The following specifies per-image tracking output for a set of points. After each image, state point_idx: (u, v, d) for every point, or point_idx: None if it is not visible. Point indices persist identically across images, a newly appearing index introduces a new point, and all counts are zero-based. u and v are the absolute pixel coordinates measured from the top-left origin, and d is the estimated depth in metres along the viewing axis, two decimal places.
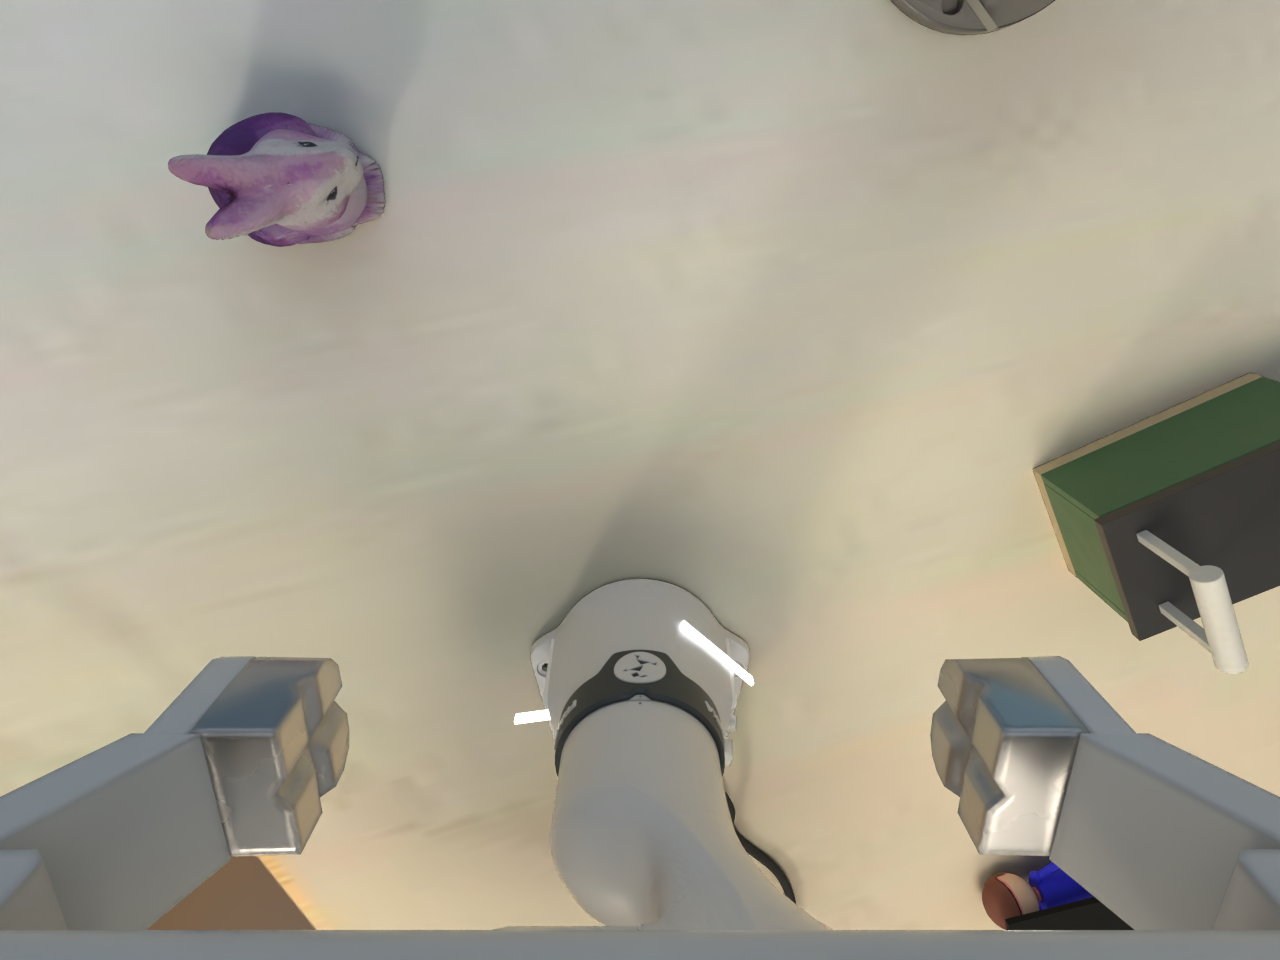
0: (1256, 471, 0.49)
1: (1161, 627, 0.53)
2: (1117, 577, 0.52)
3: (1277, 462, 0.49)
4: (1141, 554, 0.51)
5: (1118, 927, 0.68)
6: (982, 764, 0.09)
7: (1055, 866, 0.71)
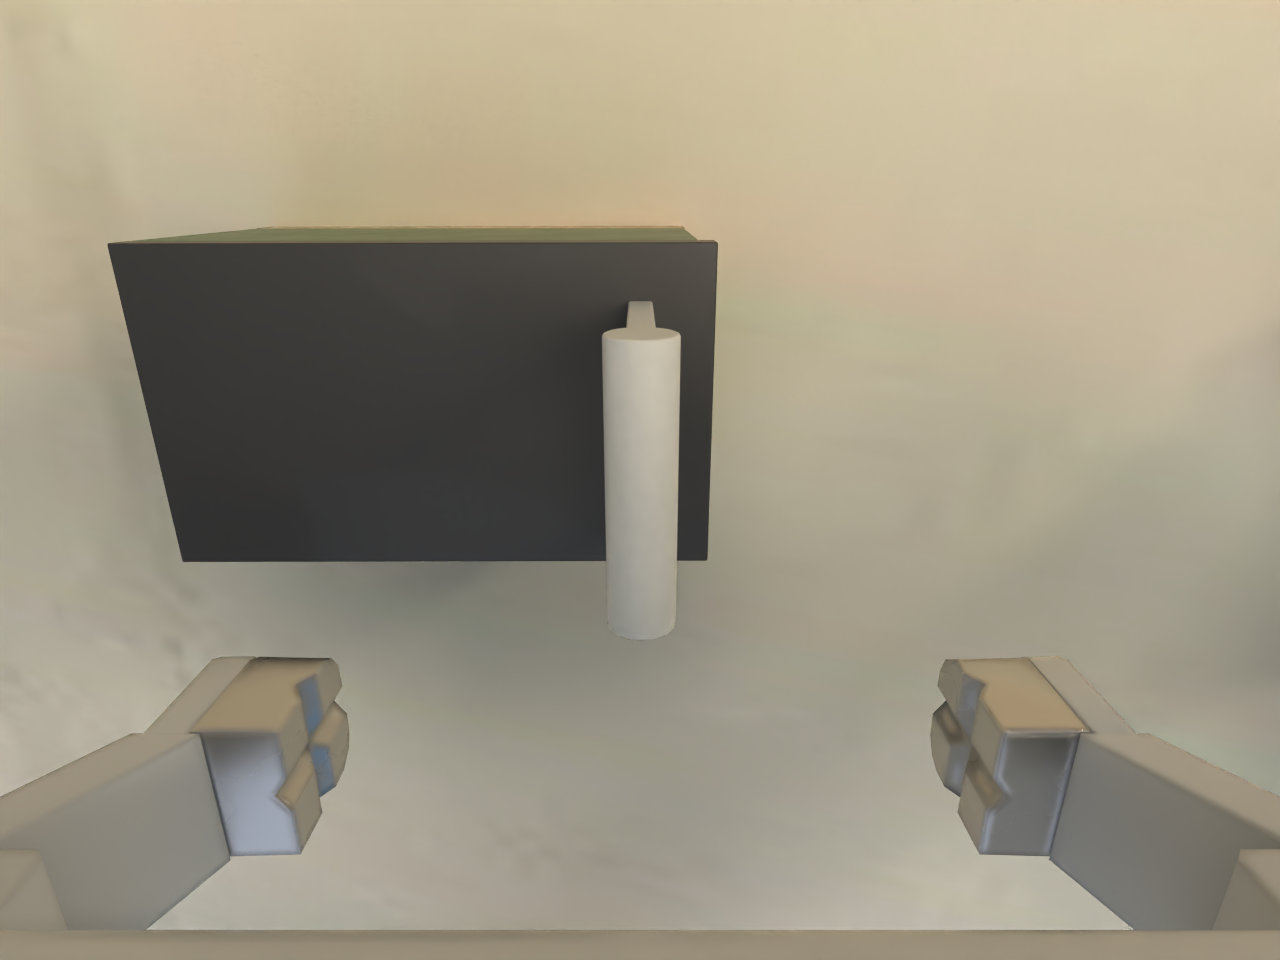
0: (404, 538, 0.25)
1: (659, 258, 0.22)
2: (711, 428, 0.24)
3: (362, 539, 0.25)
4: None
5: None
6: (982, 764, 0.09)
7: None
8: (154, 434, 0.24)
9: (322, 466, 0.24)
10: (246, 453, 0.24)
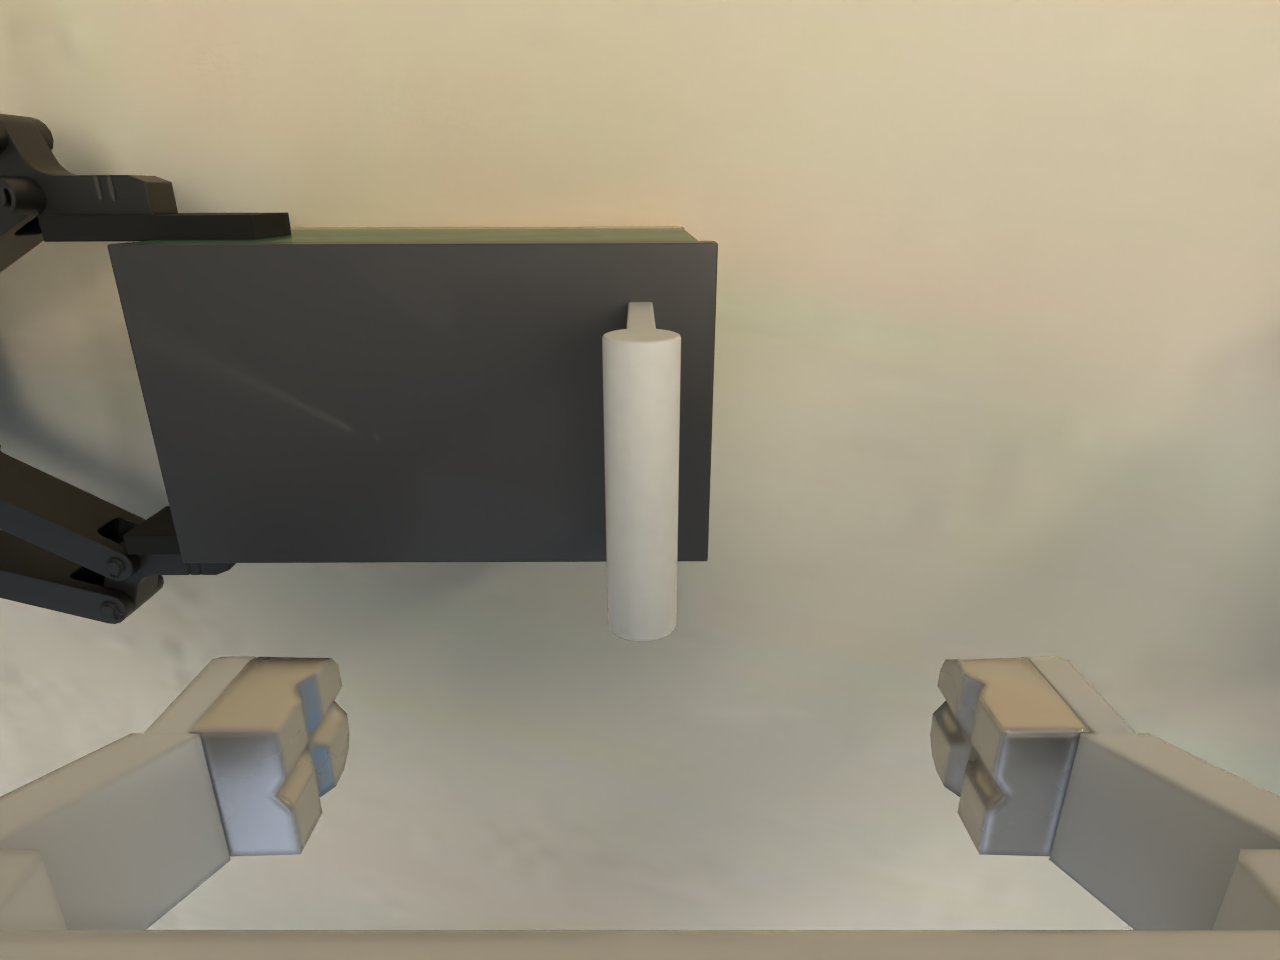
0: (404, 539, 0.25)
1: (659, 259, 0.22)
2: (711, 429, 0.24)
3: (363, 540, 0.25)
4: None
5: None
6: (982, 764, 0.09)
7: None
8: (155, 435, 0.24)
9: (322, 467, 0.24)
10: (246, 454, 0.24)
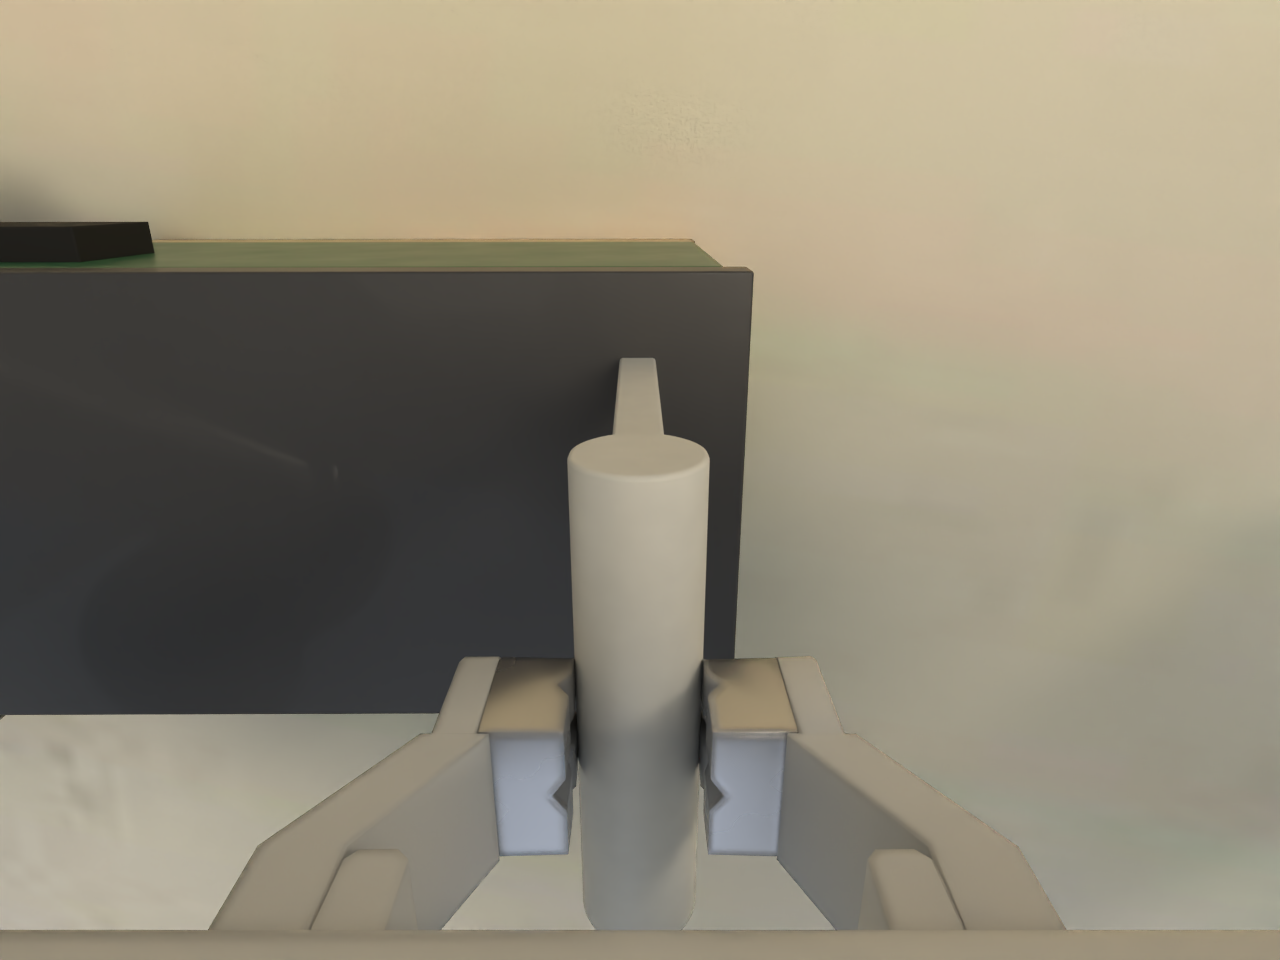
0: (304, 684, 0.18)
1: (666, 295, 0.15)
2: (739, 536, 0.16)
3: (245, 685, 0.18)
4: None
5: None
6: None
7: None
8: None
9: (181, 588, 0.17)
10: (71, 570, 0.17)
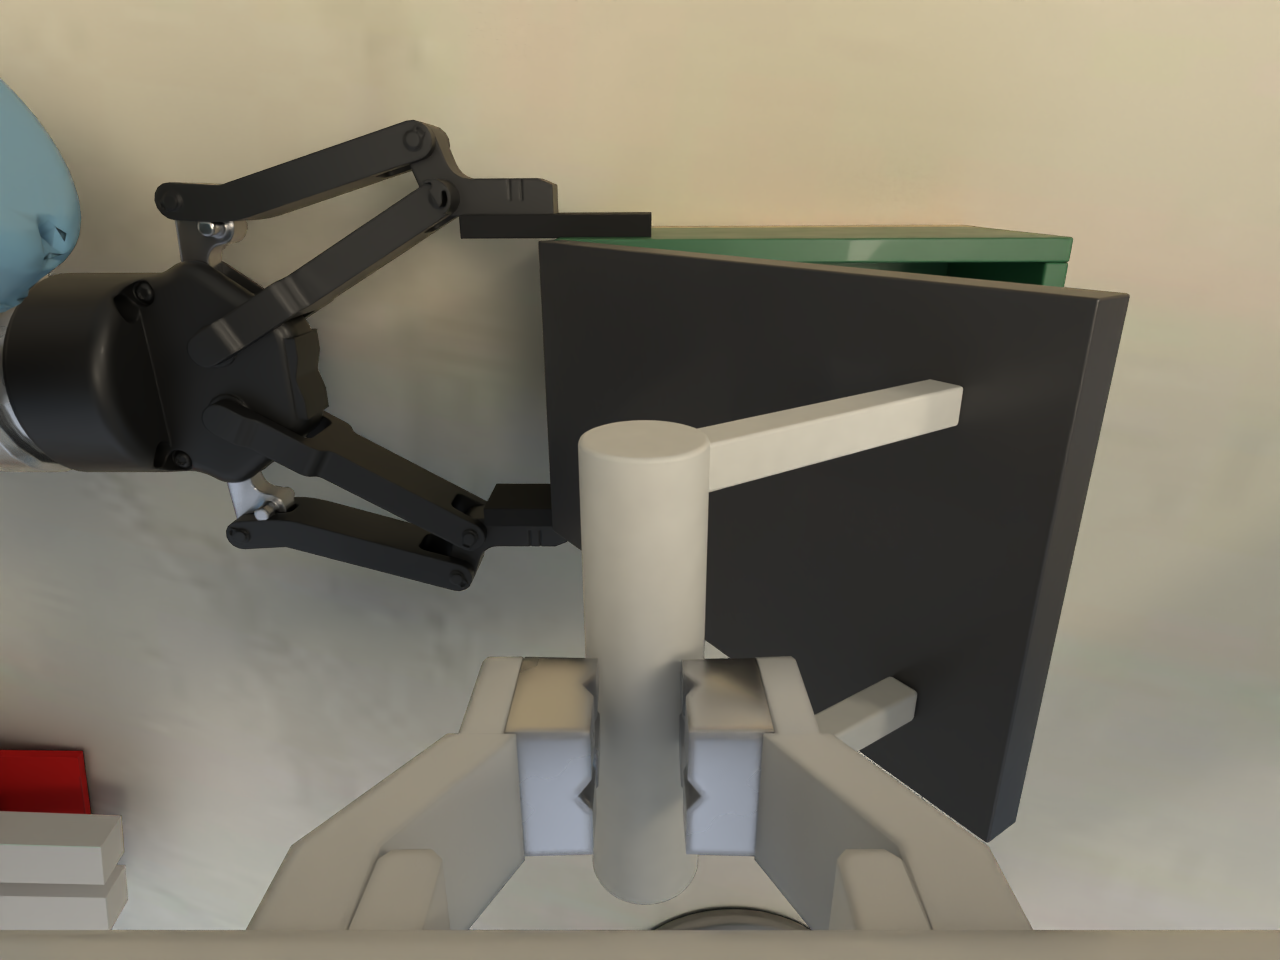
0: None
1: (987, 316, 0.12)
2: (1035, 635, 0.13)
3: None
4: (927, 647, 0.15)
5: None
6: None
7: None
8: (547, 413, 0.26)
9: None
10: None
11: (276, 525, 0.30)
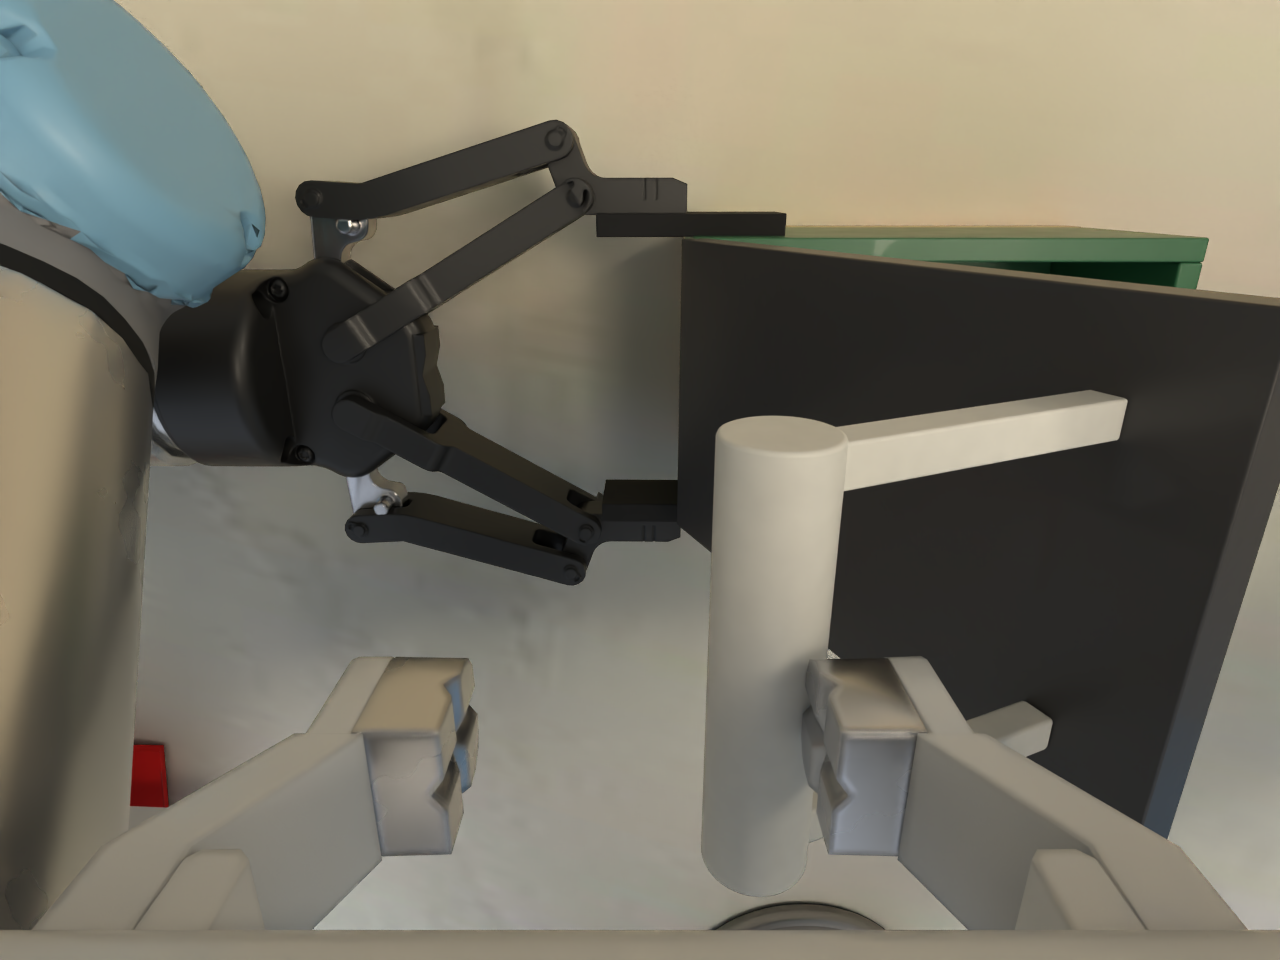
0: None
1: (1161, 324, 0.11)
2: (1194, 672, 0.12)
3: None
4: (1068, 673, 0.14)
5: None
6: None
7: None
8: (679, 409, 0.26)
9: None
10: None
11: (395, 519, 0.30)
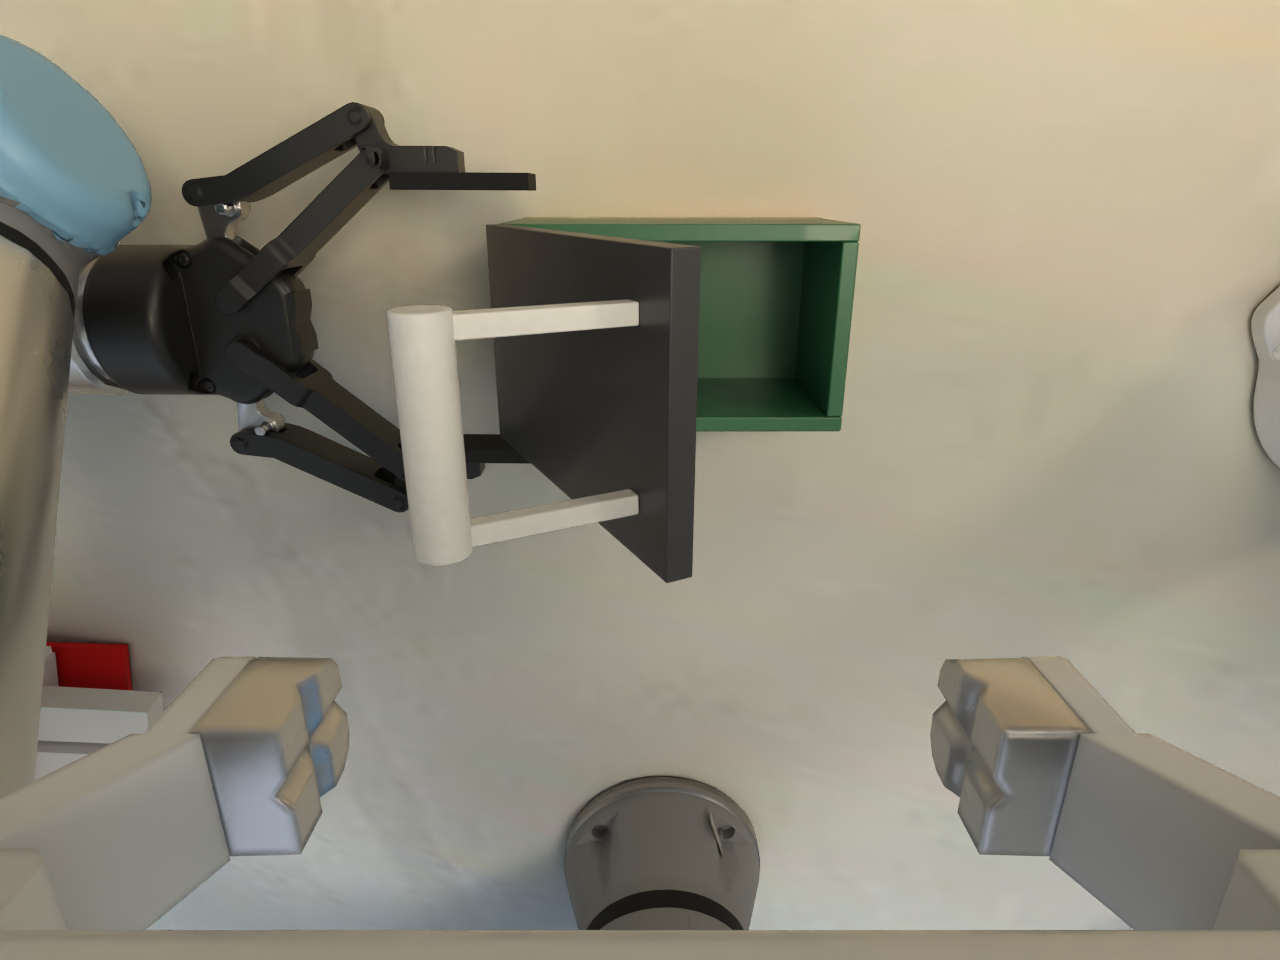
0: (551, 464, 0.32)
1: (642, 260, 0.22)
2: (672, 446, 0.22)
3: (541, 455, 0.33)
4: (639, 465, 0.24)
5: None
6: (982, 764, 0.09)
7: None
8: (494, 348, 0.37)
9: (530, 393, 0.33)
10: (513, 372, 0.35)
11: (269, 440, 0.40)
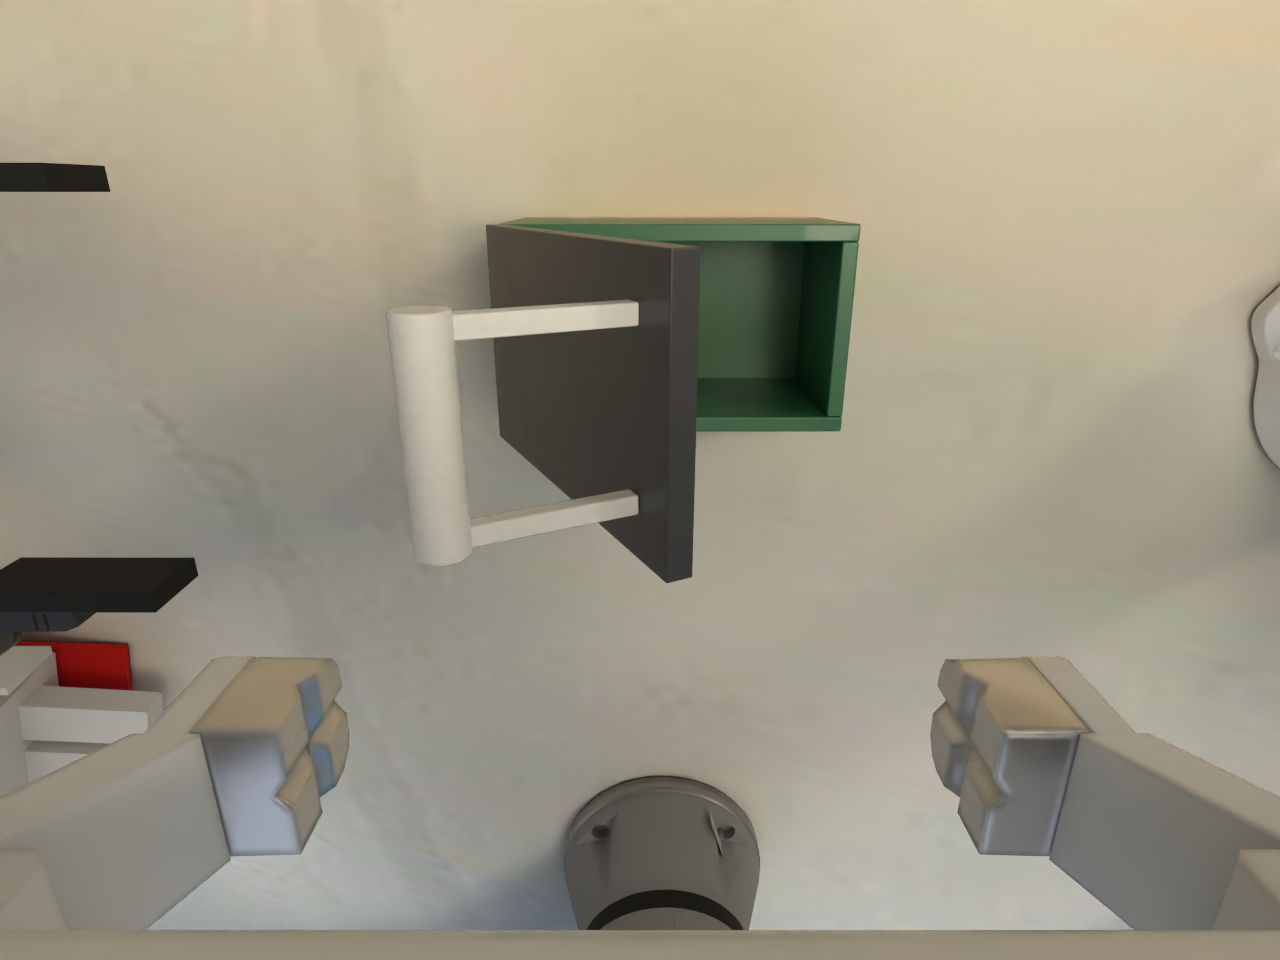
0: (551, 464, 0.32)
1: (642, 260, 0.22)
2: (673, 446, 0.22)
3: (540, 455, 0.33)
4: (639, 465, 0.24)
5: None
6: (982, 764, 0.09)
7: None
8: (494, 348, 0.37)
9: (530, 393, 0.33)
10: (513, 372, 0.35)
11: None
